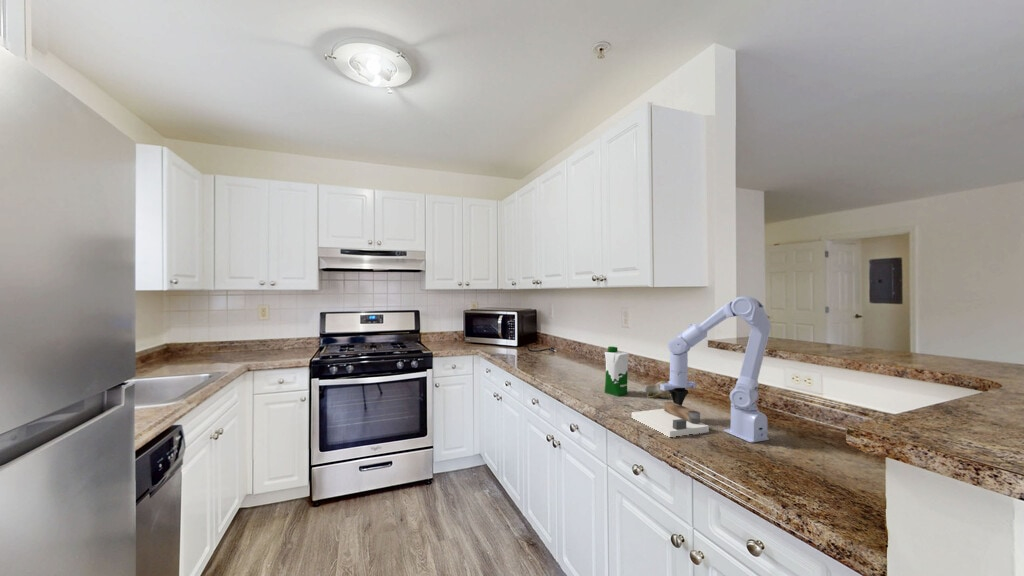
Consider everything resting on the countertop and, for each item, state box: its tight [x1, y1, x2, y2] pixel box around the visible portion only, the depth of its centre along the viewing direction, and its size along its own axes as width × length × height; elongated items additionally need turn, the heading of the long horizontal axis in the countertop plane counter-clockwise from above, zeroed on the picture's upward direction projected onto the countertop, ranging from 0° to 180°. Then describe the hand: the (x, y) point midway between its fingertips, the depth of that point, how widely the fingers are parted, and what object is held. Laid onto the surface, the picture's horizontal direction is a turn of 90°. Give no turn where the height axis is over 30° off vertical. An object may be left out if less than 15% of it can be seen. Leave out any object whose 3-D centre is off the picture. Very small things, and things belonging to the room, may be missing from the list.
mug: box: [644, 380, 671, 399], centre depth 155 cm, size 8×10×10 cm
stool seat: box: [631, 408, 710, 438], centre depth 122 cm, size 18×16×4 cm
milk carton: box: [604, 346, 630, 397], centre depth 159 cm, size 9×9×20 cm
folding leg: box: [663, 401, 701, 423], centre depth 124 cm, size 13×3×3 cm, turn 21°
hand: (677, 409), depth 129 cm, fingers closed
